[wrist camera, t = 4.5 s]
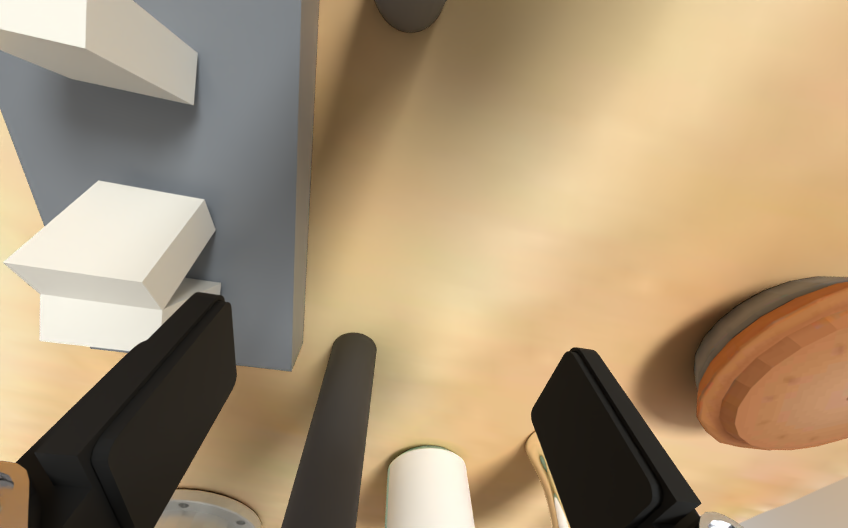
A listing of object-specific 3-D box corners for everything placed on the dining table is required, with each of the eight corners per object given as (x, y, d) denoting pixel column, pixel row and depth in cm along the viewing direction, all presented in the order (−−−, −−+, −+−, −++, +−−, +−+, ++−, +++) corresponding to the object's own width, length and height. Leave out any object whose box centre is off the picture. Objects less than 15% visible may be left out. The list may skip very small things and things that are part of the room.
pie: (790, 212, 19) (904, 252, 15) (945, 288, 22) (1075, 339, 18) (621, 384, 26) (664, 446, 22) (759, 423, 29) (820, 483, 25)
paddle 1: (193, 105, 12) (85, 48, 8) (71, 78, 11) (-120, 1, 7) (197, 52, 12) (87, -37, 7) (72, 23, 11) (-126, -92, 7)
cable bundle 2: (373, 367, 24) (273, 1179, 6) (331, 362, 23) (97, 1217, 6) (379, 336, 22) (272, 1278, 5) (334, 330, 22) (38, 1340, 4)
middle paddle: (215, 230, 15) (162, 310, 12) (119, 213, 14) (40, 294, 12) (204, 199, 14) (141, 282, 11) (98, 180, 13) (2, 262, 10)
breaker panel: (303, 342, 22) (291, 371, 20) (124, 320, 21) (90, 348, 18) (321, -39, 13) (302, -64, 10) (-9, -134, 11) (-111, -186, 9)
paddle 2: (217, 316, 17) (159, 354, 12) (132, 305, 16) (39, 340, 12) (221, 282, 16) (162, 309, 12) (134, 270, 16) (40, 293, 12)
